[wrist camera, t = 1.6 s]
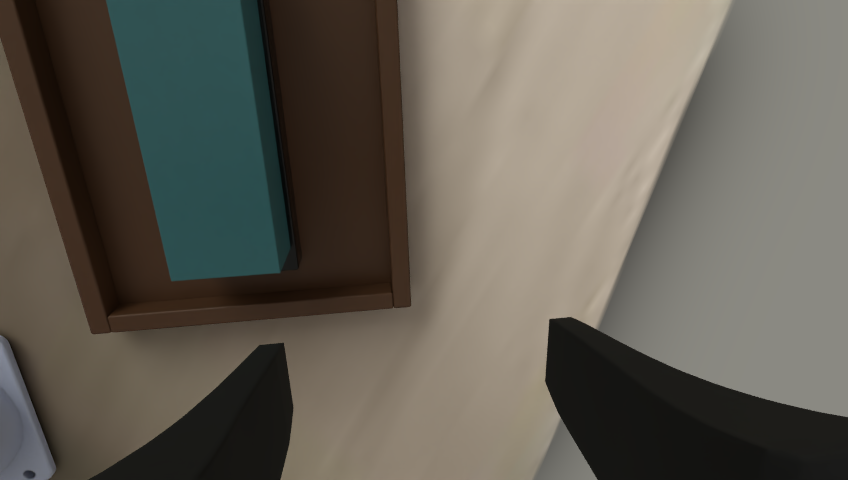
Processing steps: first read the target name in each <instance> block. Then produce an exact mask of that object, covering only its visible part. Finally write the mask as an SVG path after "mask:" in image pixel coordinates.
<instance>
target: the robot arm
mask: <svg viewBox="0 0 848 480" xmlns="http://www.w3.org/2000/svg"><path fill="white" fill-rule="evenodd" d="M545 382H546V385H547V387H548V390H549V392H550V395H551V397H552V400H553V402H554V404H555V406H556V409H557V411H558V413H559V415H560V417H561V419H562V420H563V422H564V424H565V425H566V427H567V429H568V431H569V432H570V434H571V436H572V437H573V439H574V441H575V442H576V444H577V446H578V447H579V449H580V451H581V452H582V454H583V456H584V458H585V459H586V461H587V462H588V464H589V466H590V468H591V469H592V471H593V473H594V474H595V476H596V477H597V479H598V480H848V417H843V416H837V415H832V414H827V413H821V412H816V411H811V410H807V409H803V408H798V407H794V406H790V405H786V404H781V403H777V402H774V401H770V400H766V399H762V398H759V397H755V396H752V395H748V394H745V393H742V392H739V391H736V390H732V389H729V388H726V387H723V386H720V385H717V384H714V383H711V382H709V381H706V380H703V379H700V378H698V377H695V376H693V375H690V374H687V373H685V372H682V371H680V370H677V369H675V368H673V367H671V366H668V365H666V364H664V363H662V362H660V361H658V360H655V359H653V358H651V357H649V356H647V355H645V354H643V353H641V352H638V351H636V350H635V349H632V348H631V347H629V346H627V345H625V344H623V343H621V342H619V341H617V340H615V339H613V338H611V337H610V336H608V335H606V334H604V333H602V332H600V331H598V330H596V329H594V328H593V327H591V326H589V325H587V324H585V323H583V322H581V321H578V320H576V319H574V318H571V317H567V318H556V319H549V334H548V348H547V363H546V378H545ZM292 416H293V402H292V395H291V388H290V381H289V375H288V368H287V361H286V354H285V348H284V343H277V344H266V345H259V346H258V347H257V348H256V349H255V350H254V351H253V352H252V353H251V354H250V355H249V356H248V357H247V358H246V359H245V360H244V361H243V362H242V363H241V364H240V365H239V366H238V367H237V368H236V369H235V370H234V371H233V372H232V373H231V374H230V375H229V376H228V377H227V378H226V379H225V380H224V381H223V382H222V383H221V384H220V385H219V386H218V387H217V388H216V389H214V390H213V391H212V392H211V393H210V394H209V395H208V396H206V397H205V398H204V399H203V400H202V401H201V402H200V403H198V404H197V405H196V406H195V407H194V408H193V409H192V410H190V411H189V412H188V413H187V414H186V415H185V416H183V417H182V418H181V419H180V420H178V421H177V422H176V423H174V424H173V425H172V426H171V427H169V428H168V429H166V430H165V431H164V432H162V433H161V434H160V435H158V436H157V437H155V438H154V439H153V440H151V441H150V442H148V443H147V444H146V445H144V446H143V447H141V448H139V449H138V450H136V451H135V452H133V453H131V454H130V455H128V456H127V457H125V458H124V459H122V460H120V461H119V462H117V463H116V464H114V465H113V466H111V467H109V468H108V469H106V470H104V471H103V472H101V473H99V474H98V475H96V476H94V477H92V478H90V479H89V480H280V479H281V475H282V471H283V467H284V463H285V459H286V455H287V451H288V446H289V441H290V433H291V425H292ZM30 470H31V471H30ZM32 471H33V472H32ZM55 471H56V465H55V463H54V460H53V457H52V455H51V452H50V450H49V447H48V444H47V442H46V439H45V436H44V434H43V431H42V428H41V426H40V423H39V420H38V418H37V415H36V412H35V410H34V407H33V405H32V402H31V399H30V397H29V394H28V391H27V389H26V386H25V383H24V381H23V378H22V375H21V373H20V370H19V367H18V365H17V362H16V360H15V357H14V354H13V352H12V349H11V346H10V344H9V342H8V340H7V339H6V338H4V337H3V336H1V335H0V480H48V479H49V478H51V477H52V475H53V474H54V473H55Z"/></svg>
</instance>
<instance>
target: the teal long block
mask: <svg viewBox="0 0 848 480" xmlns="http://www.w3.org/2000/svg"><path fill="white" fill-rule="evenodd" d="M106 3H107V7H108V12H109V16H110V20H111V25H112V29H113V33H114V37H115V42H116V46H117V50H118V55H119V59H120V63H121V67H122V72H123V76H124V80H125V85H126V89H127V93H128V98H129V102H130V106H131V110H132V115H133V119H134V123H135V128H136V132H137V136H138V141H139V145H140V149H141V153H142V158H143V162H144V166H145V171H146V175H147V179H148V184H149V188H150V192H151V196H152V201H153V205H154V209H155V214H156V218H157V222H158V226H159V231H160V235H161V239H162V244H163V248H164V252H165V257H166V261H167V265H168V269H169V274H170V278H171V281H183V280H196V279H209V278H222V277H235V276H248V275H261V274H274V273H280V272H281V271H288V270H298V269H299V265H300V262H301V259H302V252H301V244H300V236H299V228H298V221H297V213H296V205H295V197H294V189H293V181H292V174H291V166H290V158H289V150H288V142H287V135H286V127H285V119H284V111H283V103H282V95H281V88H280V80H279V72H278V64H277V56H276V49H275V41H274V33H273V25H272V17H271V9H270V2H269V0H106Z"/></svg>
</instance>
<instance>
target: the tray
mask: <svg viewBox="0 0 848 480" xmlns="http://www.w3.org/2000/svg"><path fill="white" fill-rule="evenodd" d="M269 2H270V9H271V17H272V25H273V33H274V41H275V49H276V56H277V64H278V72H279V80H280V88H281V95H282V103H283V111H284V119H285V127H286V135H287V142H288V150H289V158H290V166H291V174H292V181H293V189H294V197H295V205H296V213H297V221H298V228H299V236H300V244H301V252H302V259H301V262H300V265H299V269H298V270H288V271H281V272H280V273H274V274H261V275H248V276H235V277H222V278H209V279H196V280H183V281H171V278H170V274H169V269H168V265H167V261H166V257H165V252H164V248H163V244H162V239H161V235H160V231H159V226H158V222H157V218H156V214H155V209H154V205H153V201H152V196H151V192H150V188H149V184H148V179H147V175H146V171H145V166H144V162H143V158H142V153H141V149H140V145H139V141H138V136H137V132H136V128H135V123H134V119H133V115H132V110H131V106H130V102H129V98H128V93H127V89H126V85H125V80H124V76H123V72H122V67H121V63H120V59H119V55H118V50H117V46H116V42H115V37H114V33H113V29H112V25H111V20H110V16H109V12H108V7H107V3H106V0H0V38H1V41H2V44H3V47H4V51H5V54H6V57H7V60H8V64H9V67H10V70H11V73H12V77H13V80H14V83H15V86H16V90H17V93H18V96H19V99H20V103H21V106H22V109H23V112H24V116H25V119H26V122H27V125H28V129H29V132H30V135H31V138H32V142H33V145H34V148H35V151H36V155H37V158H38V161H39V164H40V168H41V171H42V174H43V177H44V181H45V184H46V187H47V190H48V194H49V197H50V200H51V203H52V207H53V210H54V213H55V216H56V220H57V223H58V226H59V229H60V233H61V236H62V239H63V242H64V246H65V249H66V252H67V255H68V259H69V262H70V265H71V268H72V272H73V275H74V278H75V281H76V285H77V288H78V291H79V294H80V298H81V301H82V304H83V307H84V311H85V314H86V317H87V320H88V324H89V327H90V330H91V333H92V334H101V333H110V332H124V331H135V330H147V329H159V328H170V327H182V326H193V325H205V324H216V323H228V322H240V321H251V320H263V319H274V318H286V317H297V316H309V315H320V314H332V313H344V312H355V311H367V310H378V309H390V308H393V306H394V308H401V307H410V306H411V292H410V270H409V248H408V227H407V205H406V183H405V161H404V140H403V118H402V96H401V74H400V53H399V31H398V9H397V0H269Z"/></svg>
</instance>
